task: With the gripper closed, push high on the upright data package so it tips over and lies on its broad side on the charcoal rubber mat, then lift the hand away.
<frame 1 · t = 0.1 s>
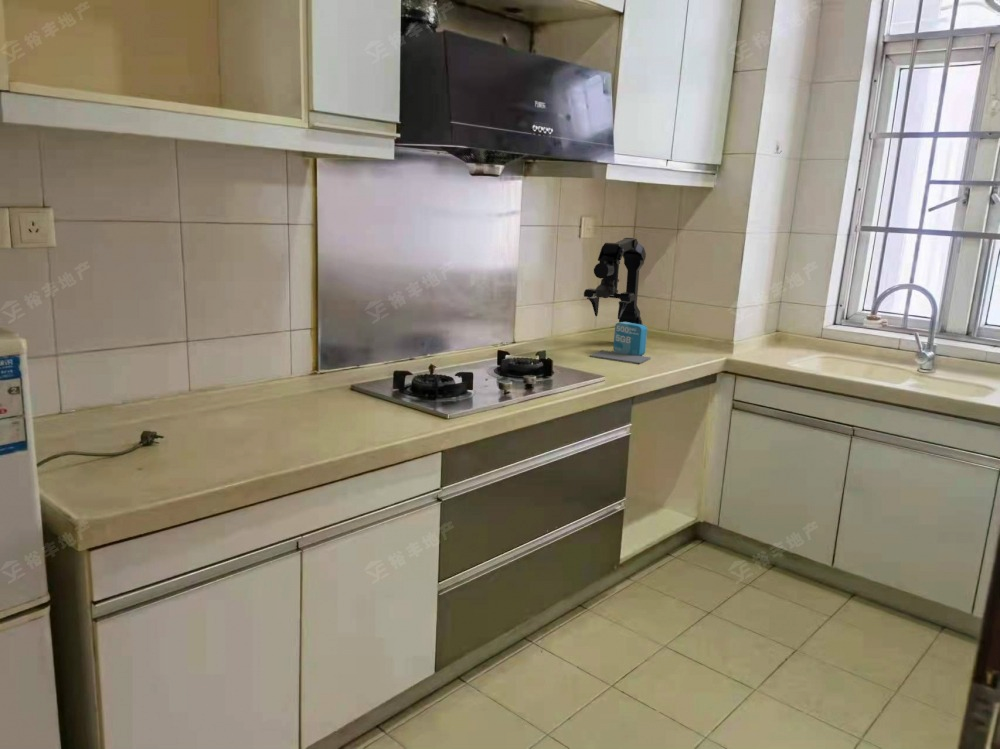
hand: (607, 317, 287), 15 cm above the counter, fingers open, 9 cm apart
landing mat: (620, 357, 285), on the counter
data package: (628, 354, 294), on the counter
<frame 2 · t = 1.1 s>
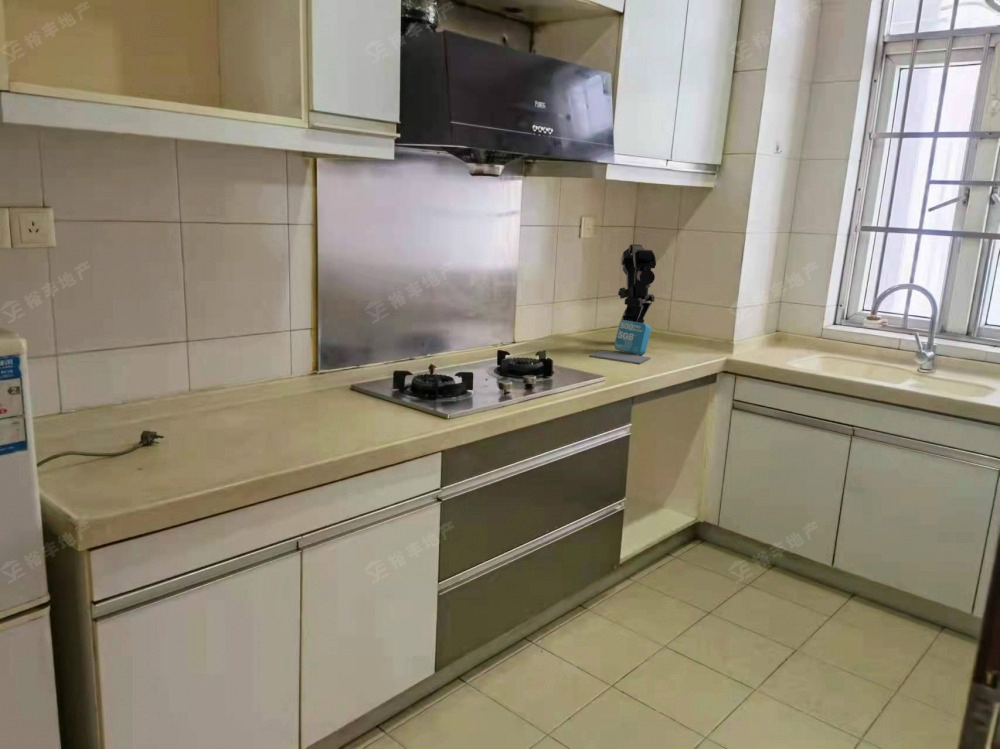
hand: (638, 321, 298), 12 cm above the counter, fingers open, 6 cm apart
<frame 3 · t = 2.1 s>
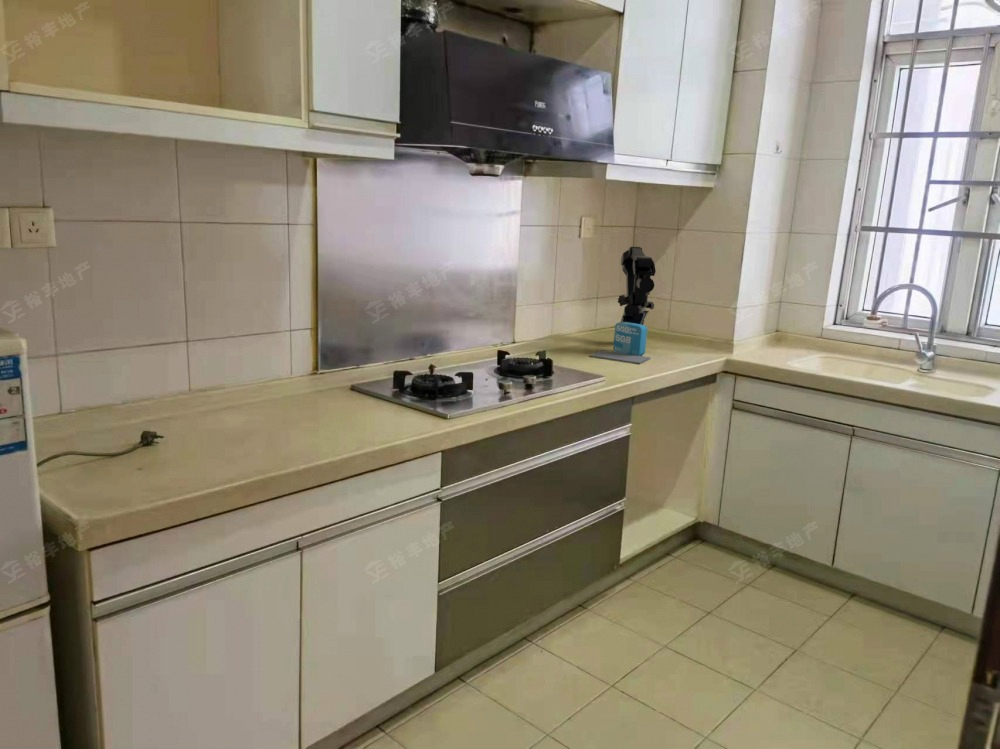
hand: (637, 328, 298), 9 cm above the counter, fingers closed
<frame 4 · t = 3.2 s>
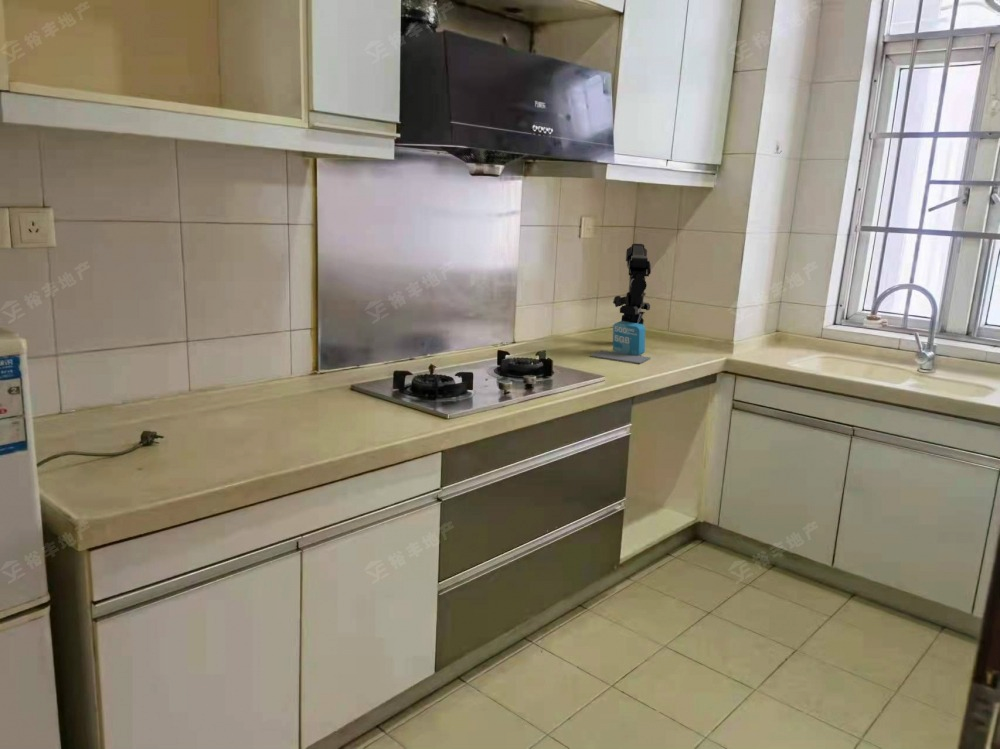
hand: (633, 329, 294), 9 cm above the counter, fingers closed
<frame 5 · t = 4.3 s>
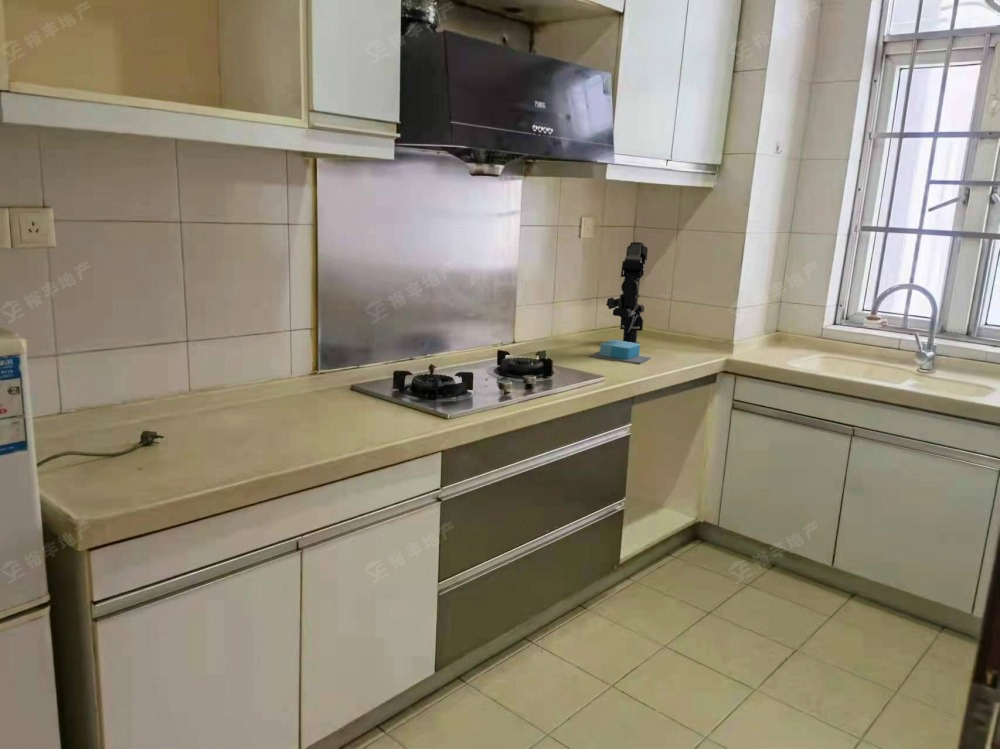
hand: (627, 332, 288), 9 cm above the counter, fingers closed
data package: (627, 347, 292), point 3 cm above the counter, touching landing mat
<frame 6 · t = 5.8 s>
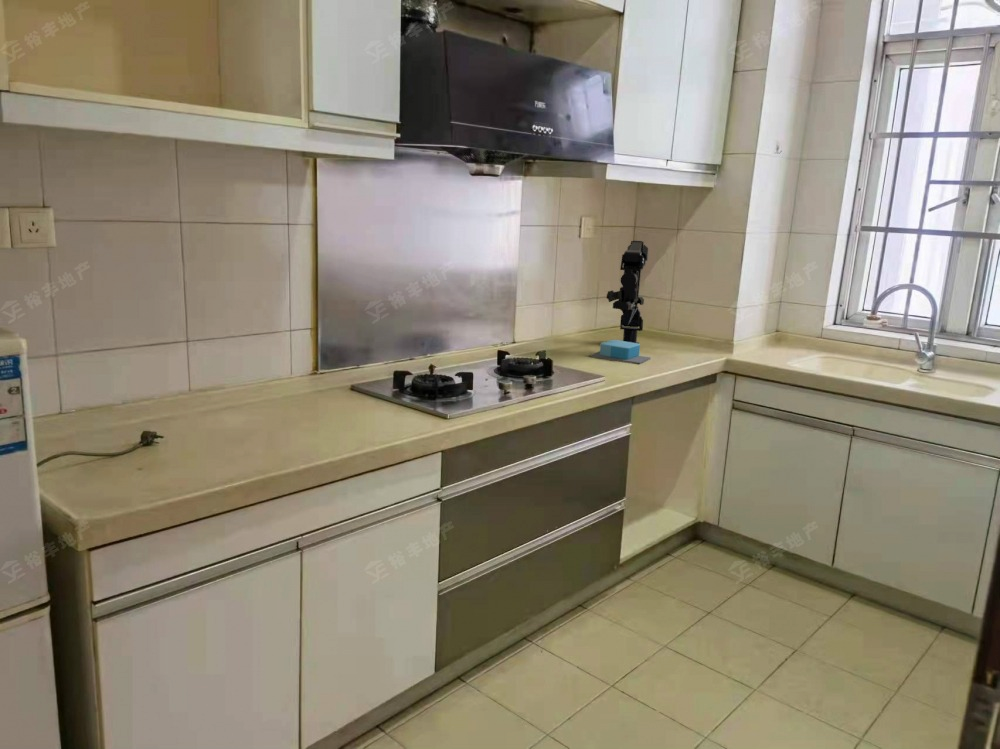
hand: (626, 324, 291), 11 cm above the counter, fingers closed
nothing on the counter moved.
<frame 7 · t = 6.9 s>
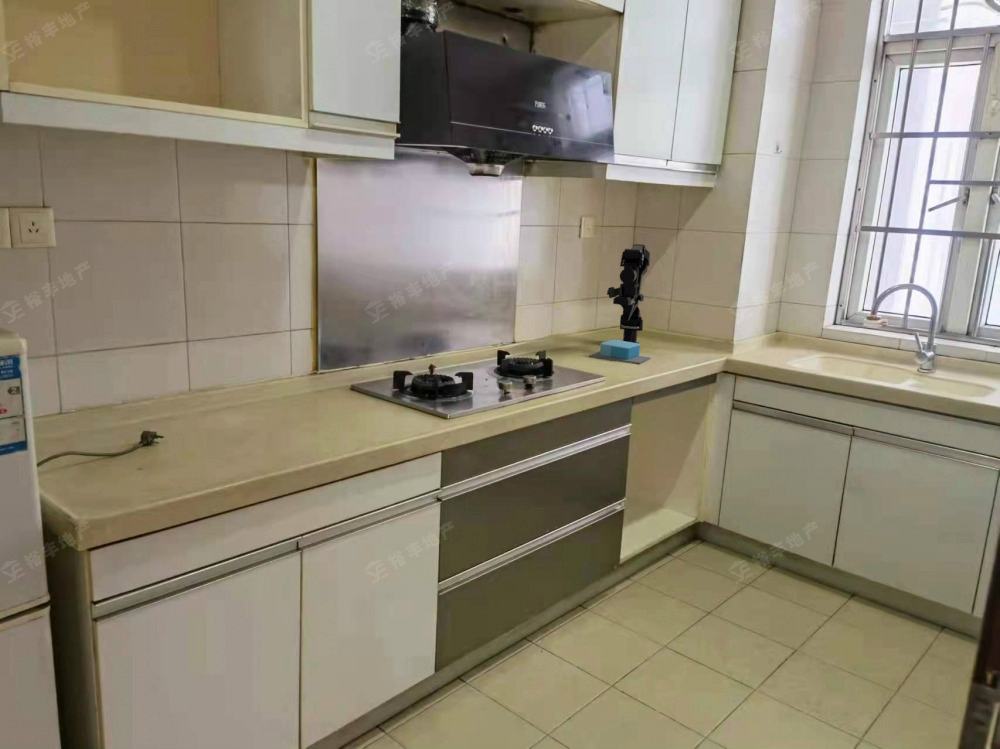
hand: (626, 320, 298), 12 cm above the counter, fingers closed
nothing on the counter moved.
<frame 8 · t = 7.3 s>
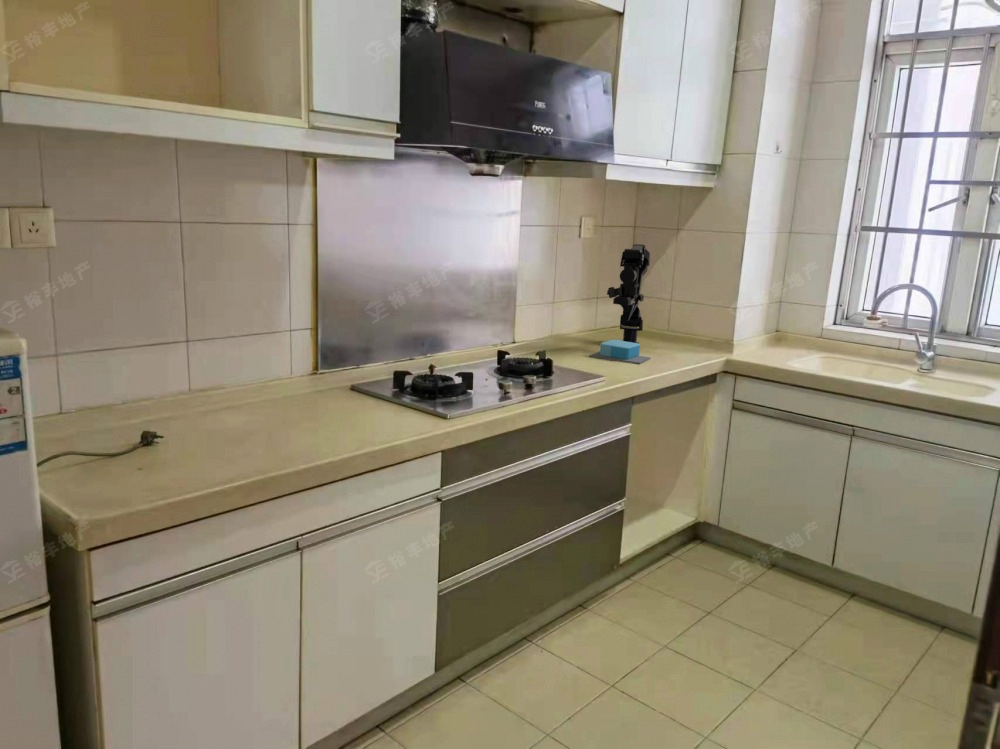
hand: (626, 320, 298), 12 cm above the counter, fingers closed
nothing on the counter moved.
at the end: data package tilted 90°; data package touching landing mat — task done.
